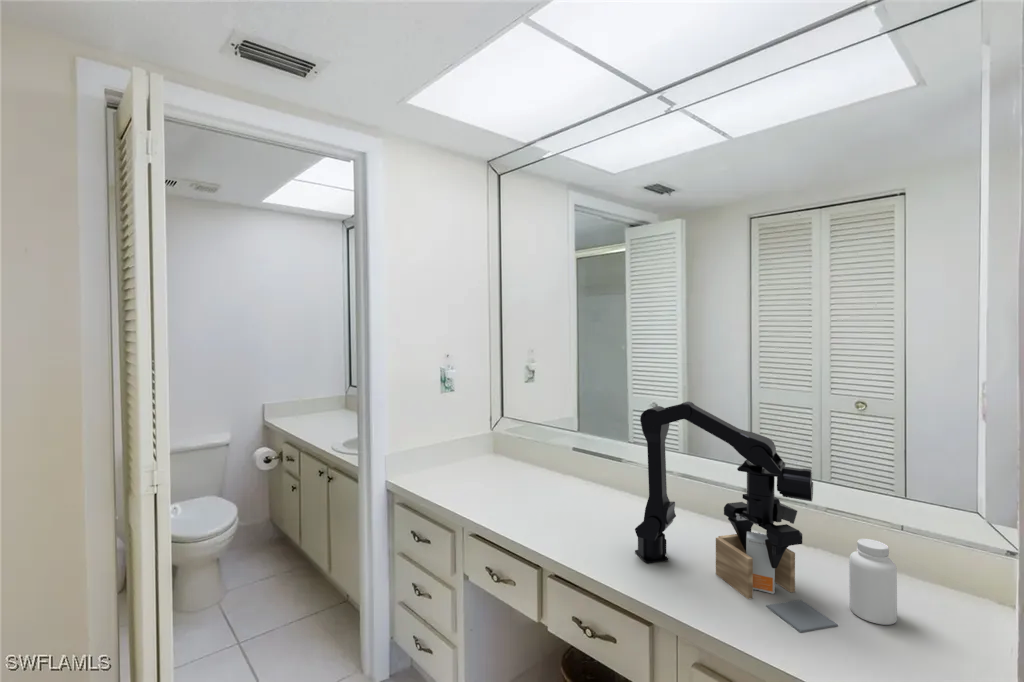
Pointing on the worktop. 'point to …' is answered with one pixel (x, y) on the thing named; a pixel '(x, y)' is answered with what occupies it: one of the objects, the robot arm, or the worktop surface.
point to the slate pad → (801, 615)
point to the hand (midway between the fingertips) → (760, 558)
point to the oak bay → (748, 566)
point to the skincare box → (760, 562)
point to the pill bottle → (873, 583)
